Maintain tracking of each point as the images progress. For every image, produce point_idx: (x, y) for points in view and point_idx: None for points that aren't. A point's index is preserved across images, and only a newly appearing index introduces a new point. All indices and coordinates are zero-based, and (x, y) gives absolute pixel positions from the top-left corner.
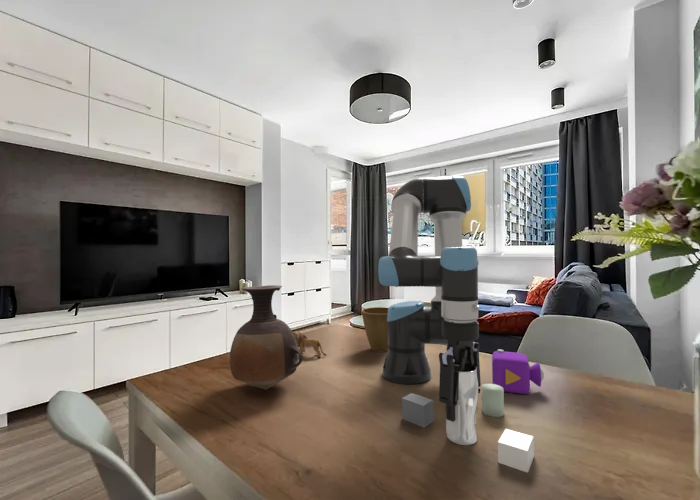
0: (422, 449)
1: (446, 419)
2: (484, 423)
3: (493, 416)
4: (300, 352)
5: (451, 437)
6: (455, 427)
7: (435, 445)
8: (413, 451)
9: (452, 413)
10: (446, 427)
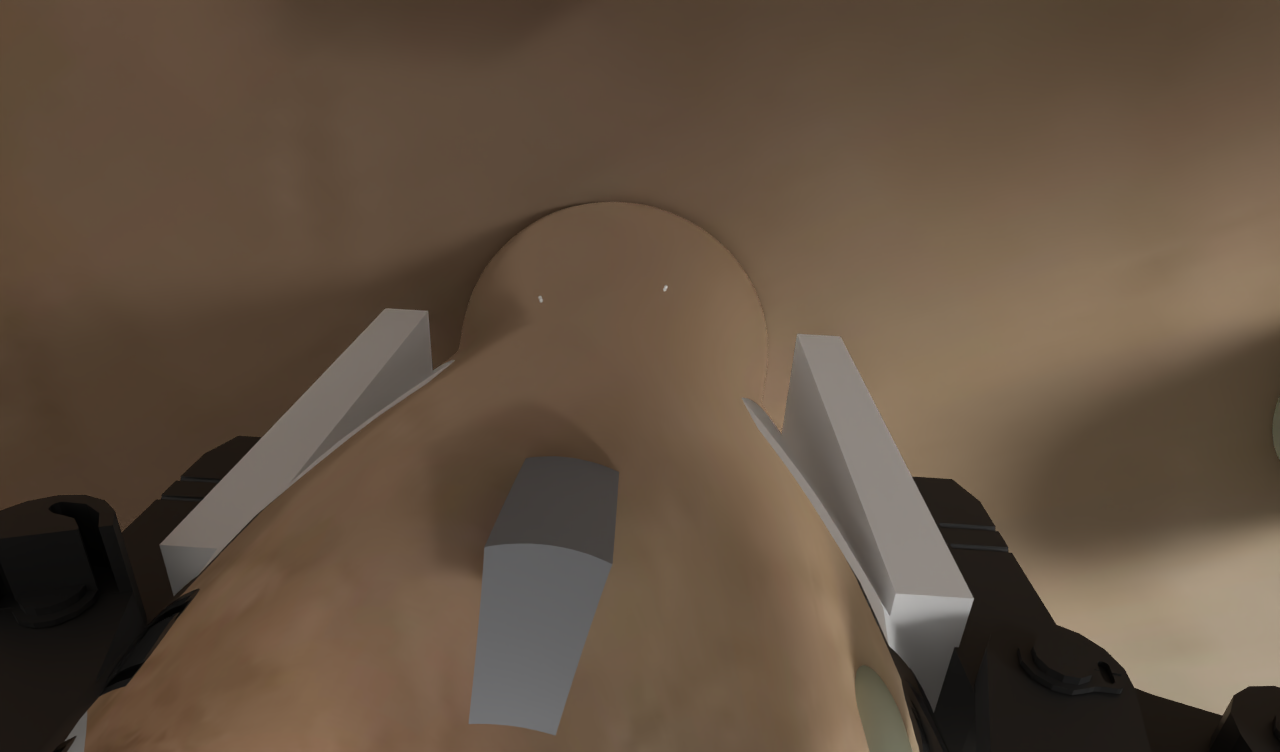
0: (117, 139)
1: (317, 384)
2: (1053, 414)
3: (1275, 437)
4: None
5: (464, 318)
6: None
7: (288, 209)
8: (5, 82)
9: None
10: (360, 337)
